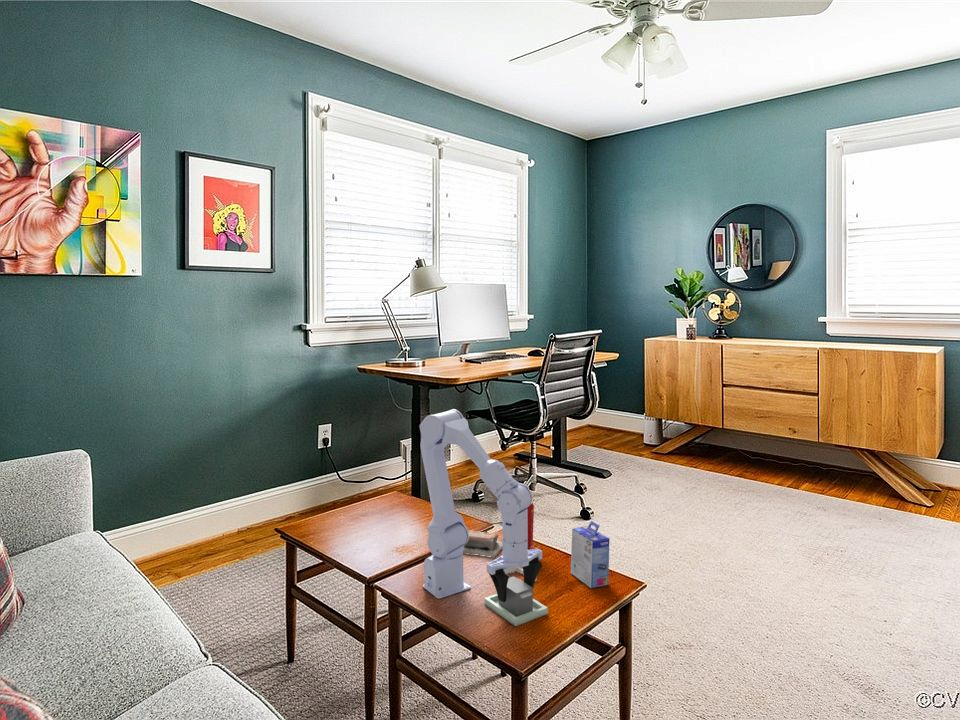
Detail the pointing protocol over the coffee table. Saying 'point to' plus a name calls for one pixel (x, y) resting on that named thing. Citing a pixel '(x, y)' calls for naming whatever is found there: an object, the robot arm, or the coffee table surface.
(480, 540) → the packaged product
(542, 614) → the tray
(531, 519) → the beverage can
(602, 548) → the ink cartridge box
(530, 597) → the grey tabbed box
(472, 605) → the coffee table surface
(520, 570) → the frame
